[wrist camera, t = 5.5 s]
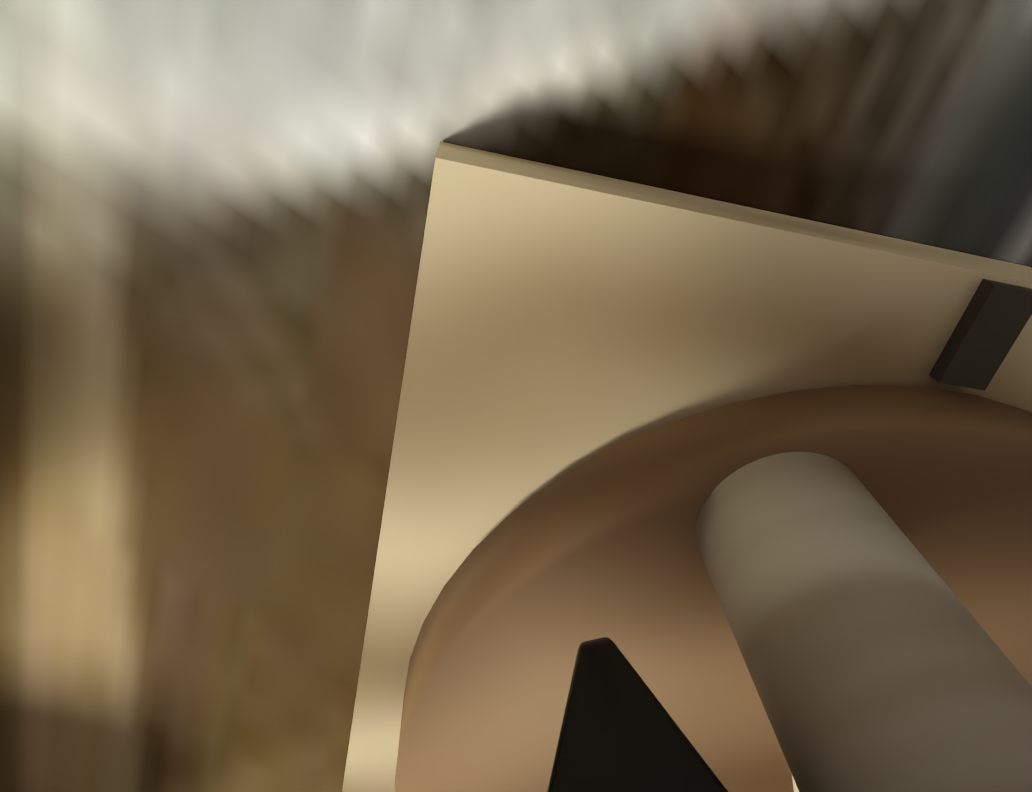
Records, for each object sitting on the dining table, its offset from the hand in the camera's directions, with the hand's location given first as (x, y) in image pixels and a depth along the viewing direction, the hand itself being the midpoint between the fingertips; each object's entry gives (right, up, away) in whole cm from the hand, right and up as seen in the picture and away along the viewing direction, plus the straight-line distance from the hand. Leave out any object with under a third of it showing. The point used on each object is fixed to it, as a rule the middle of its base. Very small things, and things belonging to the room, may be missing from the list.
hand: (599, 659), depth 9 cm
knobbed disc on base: (+5, -4, +7) cm, 9 cm away
